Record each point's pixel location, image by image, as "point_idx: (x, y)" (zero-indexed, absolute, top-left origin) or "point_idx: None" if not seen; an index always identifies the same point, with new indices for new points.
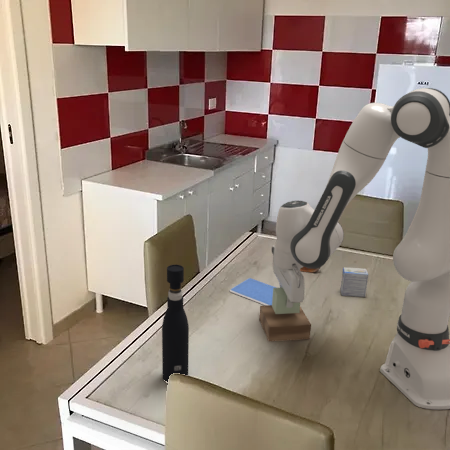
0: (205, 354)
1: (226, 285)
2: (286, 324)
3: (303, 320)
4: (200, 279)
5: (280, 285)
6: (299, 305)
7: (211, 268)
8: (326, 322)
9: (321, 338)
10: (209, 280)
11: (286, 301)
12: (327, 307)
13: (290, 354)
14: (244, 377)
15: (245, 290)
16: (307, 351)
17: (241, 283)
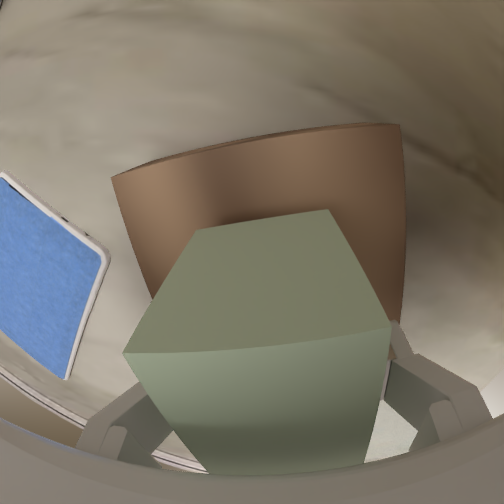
0: (394, 427)
1: (44, 374)
2: (387, 282)
3: (348, 167)
4: (54, 410)
5: (149, 450)
6: (345, 243)
7: (6, 379)
8: (189, 16)
9: (356, 62)
10: (47, 398)
11: (381, 396)
12: (60, 30)
13: (462, 235)
14: (495, 353)
15: (44, 345)
16: (454, 161)
17: (20, 346)
